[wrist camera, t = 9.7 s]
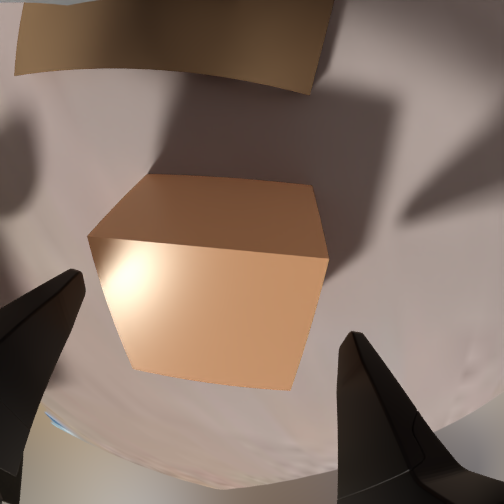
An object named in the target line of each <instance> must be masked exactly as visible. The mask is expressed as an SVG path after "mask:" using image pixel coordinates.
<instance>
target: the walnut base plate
mask: <svg viewBox="0 0 504 504" xmlns="http://www.w3.org/2000/svg"><path fill="white" fill-rule="evenodd" d="M333 3H334V0H96V1H89V2H83V3H78V4H72V5H58V4H46V3H26V2H24V6H23V11H22V16H21V21H20V28H19V34H18V41H17V50H16V60H15V73H14V76H17V75H24V74H31V73H39V72H48V71H59V70H73V69H97V68H127V69H152V70H167V71H179V72H188V73H197V74H205V75H213V76H219V77H226V78H232V79H238V80H244V81H249V82H254V83H259V84H264V85H269V86H273V87H278V88H282V89H286V90H290V91H294V92H298V93H302V94H306V95H309V96H310V92H311V89H312V85H313V81H314V77H315V73H316V70H317V66H318V62H319V58H320V54H321V50H322V46H323V43H324V39H325V35H326V31H327V27H328V23H329V19H330V15H331V11H332V7H333Z"/></svg>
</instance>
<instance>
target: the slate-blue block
mask: <svg viewBox="0 0 504 504" xmlns="http://www.w3.org/2000/svg"><path fill="white" fill-rule="evenodd" d="M89 1H96V0H0V2H26V3H46V4H58V5H72V4H78V3H83V2H89Z"/></svg>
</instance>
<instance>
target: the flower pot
mask: <svg viewBox="0 0 504 504" xmlns="http://www.w3.org/2000/svg"><path fill="white" fill-rule="evenodd" d="M22 466H23V455H22V458H21V461H20V465H19V469H18V472H17V475H16V476H14V475H12V474H10V473H8V472H6V471H4V470H2V469H0V494H1V496H2V498H3V500H2V501H3V502H6V503H9V504H19V501H20V490H21V479H22Z"/></svg>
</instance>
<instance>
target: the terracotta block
mask: <svg viewBox="0 0 504 504" xmlns="http://www.w3.org/2000/svg"><path fill="white" fill-rule="evenodd" d="M87 237H88V241H89V245H90V249H91V252H92V256H93V260H94V263H95V266H96V270H97V273H98V276H99V280H100V283H101V286H102V289H103V292H104V295H105V298H106V301H107V304H108V307H109V310H110V312H111V315H112V318H113V321H114V323H115V326H116V328H117V331H118V334H119V336H120V339H121V341H122V344H123V346H124V349H125V351H126V353H127V356H128V358H129V360H130V363H131V365H132V367H133V369H136V370H140V371H145V372H150V373H155V374H160V375H165V376H170V377H176V378H182V379H188V380H194V381H200V382H207V383H215V384H222V385H231V386H239V387H249V388H260V389H273V390H289V391H290V390H291V387H292V384H293V381H294V378H295V375H296V372H297V369H298V366H299V363H300V360H301V357H302V354H303V351H304V347H305V344H306V341H307V338H308V334H309V331H310V328H311V324H312V321H313V317H314V314H315V310H316V307H317V303H318V300H319V296H320V292H321V289H322V285H323V281H324V277H325V274H326V270H327V266H328V262H329V255H328V251H327V246H326V242H325V237H324V233H323V228H322V224H321V220H320V215H319V211H318V207H317V203H316V199H315V195H314V191H313V187H312V185H304V184H295V183H285V182H275V181H264V180H253V179H240V178H227V177H211V176H192V175H167V174H147V175H146V176H145V177H144V178H143V179H142V180H141V181H139V182H138V183H137V184H136V185H135V186H134V187H133V188H132V189H131V190H130V191H129V192H128V193H127V194H126V195H125V196H124V197H123V198H122V199H121V200H120V201H119V202H118V203H117V204H116V205H115V207H114V208H113V209H112V210H111V211H110V212H109V213H108V214H107V215H106V216H105V217H104V218H103V219H102V220H101V221H100V222H99V224H98V225H97V226H96V227H95V228H94V229H93V230H92V231H91V232H90V234H89V235H88V236H87Z"/></svg>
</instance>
